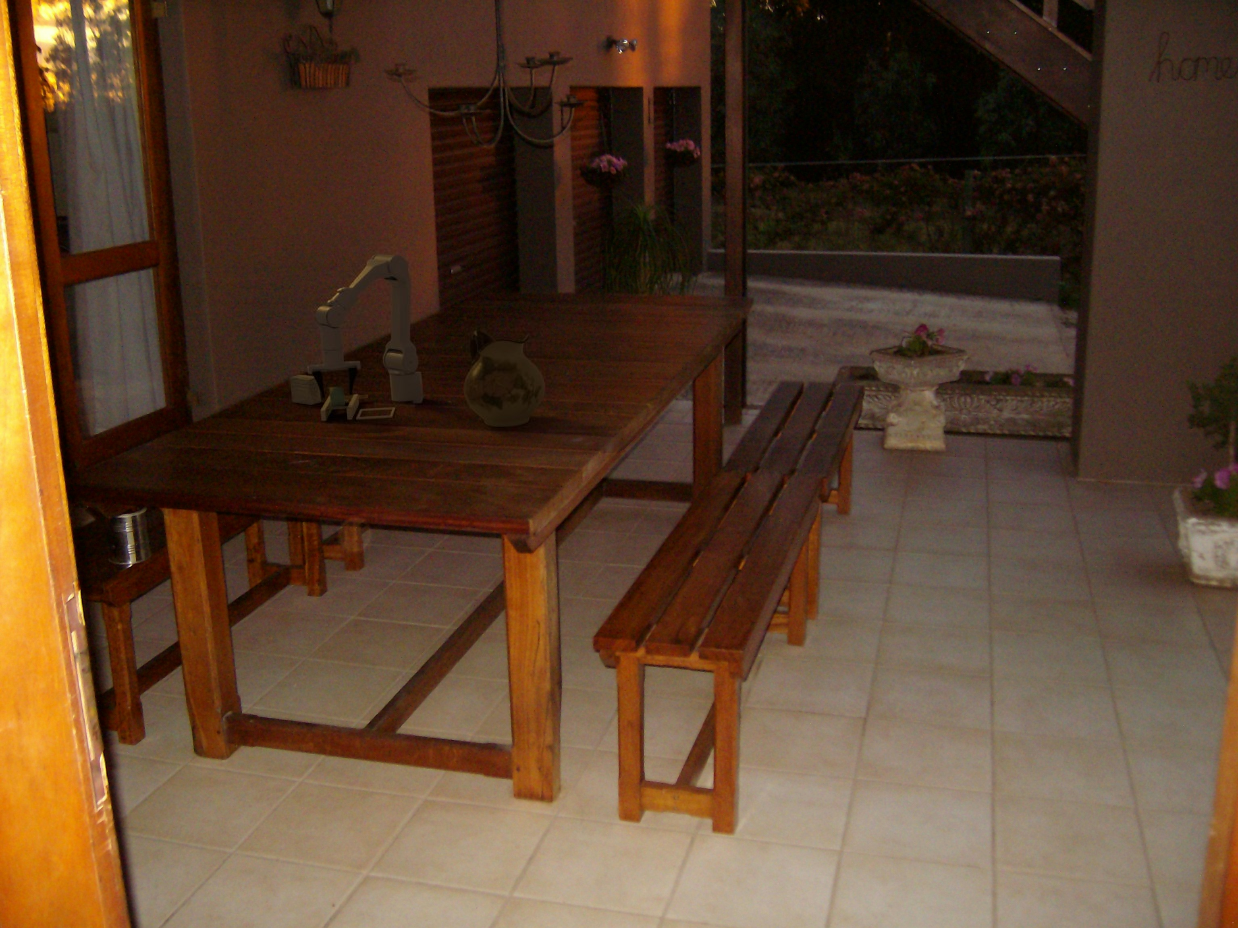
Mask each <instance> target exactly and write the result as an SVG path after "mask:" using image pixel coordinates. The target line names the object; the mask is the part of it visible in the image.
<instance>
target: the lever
mask: <svg viewBox="0 0 1238 928" xmlns="http://www.w3.org/2000/svg"><path fill="white" fill-rule="evenodd" d="M353 395H354V394H352V395H350V394H349V395H344V397H345V403H348V402H349V403H350V400H351V399H352V397H353ZM358 398H359V400H360V399H368V398H369V395H368V394H358ZM347 407H348V405H345V406H339V407H327V409H332V410H345V409H346V410H347Z"/></svg>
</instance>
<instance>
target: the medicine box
mask: <svg viewBox="0 0 1238 928" xmlns="http://www.w3.org/2000/svg"><path fill="white" fill-rule="evenodd" d="M289 384H290V392H291V400H292V403H295V404H303V405H309V406H312V405H315V404H319V403H321V402H322V396H321V392H320V389H319V386H318V384H317V382H316V380H315V378H314V376H313V375H306V374H297V375H294V376H292V377H289Z"/></svg>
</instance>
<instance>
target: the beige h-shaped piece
mask: <svg viewBox="0 0 1238 928" xmlns="http://www.w3.org/2000/svg"><path fill="white" fill-rule="evenodd" d="M352 395H353V397H352V399H350V400H349V404H348V405H347V406H348V407H347V409H346V416H347V421H348V420H353V418H354V417H355V416H354V415H355V414H356V411H357V409H358V407H359V405H360V399H359V398H358V395H359V393H356V394H354V393H353V394H352ZM327 407H331V404H330V395H328V397H327V399H326V401H325V402H324V404H323V406H322V407H321V409H320V416H321V418H320V419H321V422H326V421H327V420H328V418H329V416H330V414H331V413H332V411H333V409H327Z"/></svg>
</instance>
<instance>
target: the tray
mask: <svg viewBox="0 0 1238 928" xmlns="http://www.w3.org/2000/svg"><path fill="white" fill-rule="evenodd" d="M389 410H390V411H391V412H390V414H389V415H378V416H377V415H374V416H373V415H372V416H361V415H362V413H363V412H374V411H389ZM395 411H396V406H394V407H378V408H361V409H359V411H358V413H357V415H356V417H355V419H356V420H370V419H372V420H373V419H375V420H376V419H391V418H393V416H394V414H395Z"/></svg>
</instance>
